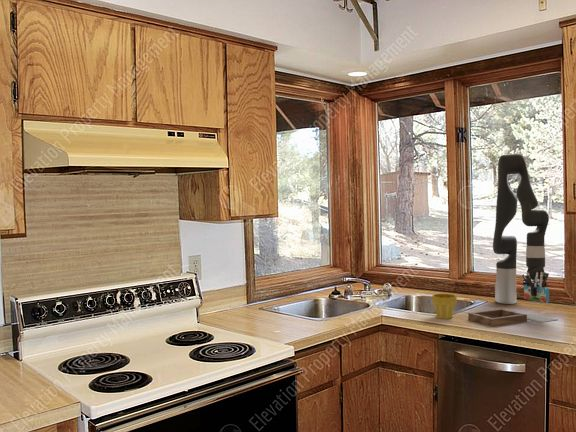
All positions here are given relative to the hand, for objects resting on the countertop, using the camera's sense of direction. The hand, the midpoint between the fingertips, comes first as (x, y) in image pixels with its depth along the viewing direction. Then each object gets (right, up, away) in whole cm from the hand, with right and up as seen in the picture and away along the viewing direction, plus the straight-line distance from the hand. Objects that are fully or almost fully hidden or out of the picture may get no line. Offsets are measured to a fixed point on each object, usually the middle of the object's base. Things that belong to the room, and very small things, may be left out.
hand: (535, 295), depth 240 cm
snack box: (0, -2, 0) cm, 2 cm away
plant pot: (-38, -10, +6) cm, 40 cm away
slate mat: (0, -10, 0) cm, 10 cm away
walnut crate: (-18, -10, -3) cm, 21 cm away
